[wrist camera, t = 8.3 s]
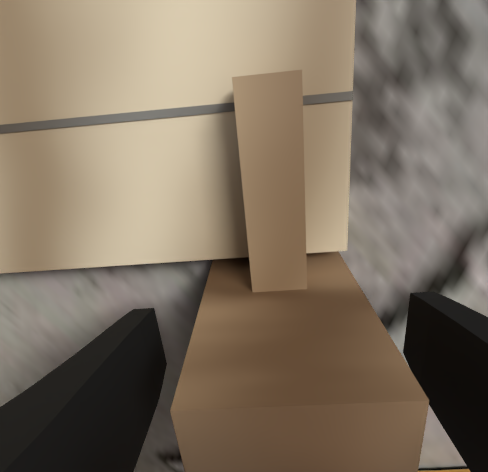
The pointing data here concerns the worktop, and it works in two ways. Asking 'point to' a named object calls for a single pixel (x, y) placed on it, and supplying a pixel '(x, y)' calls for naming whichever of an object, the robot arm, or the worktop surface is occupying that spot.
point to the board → (158, 126)
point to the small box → (454, 471)
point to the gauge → (289, 331)
